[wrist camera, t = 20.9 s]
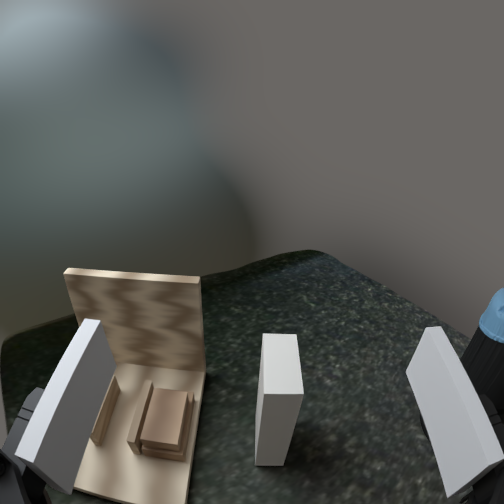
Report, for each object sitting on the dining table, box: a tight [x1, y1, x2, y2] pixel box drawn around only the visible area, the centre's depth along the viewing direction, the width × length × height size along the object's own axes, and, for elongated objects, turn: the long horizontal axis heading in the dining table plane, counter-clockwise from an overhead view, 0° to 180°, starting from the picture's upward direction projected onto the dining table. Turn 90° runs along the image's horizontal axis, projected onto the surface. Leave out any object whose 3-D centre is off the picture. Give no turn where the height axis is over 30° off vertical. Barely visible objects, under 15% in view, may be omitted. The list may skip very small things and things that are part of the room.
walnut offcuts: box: [140, 388, 195, 462], centre depth 36 cm, size 5×10×4 cm, turn 179°
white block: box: [255, 334, 304, 466], centre depth 34 cm, size 4×8×16 cm, turn 179°
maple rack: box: [63, 268, 206, 504], centre depth 33 cm, size 19×24×18 cm
